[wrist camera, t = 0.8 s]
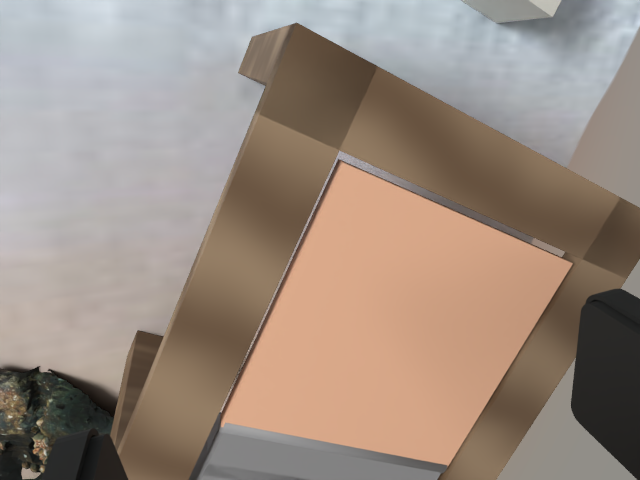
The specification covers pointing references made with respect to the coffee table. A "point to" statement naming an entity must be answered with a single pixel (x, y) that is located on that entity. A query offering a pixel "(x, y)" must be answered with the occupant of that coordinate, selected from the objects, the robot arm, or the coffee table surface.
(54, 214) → the coffee table surface
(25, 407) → the decorative rock
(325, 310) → the trapdoor
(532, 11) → the light gray block
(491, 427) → the miniature wooden side table
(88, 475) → the robot arm
